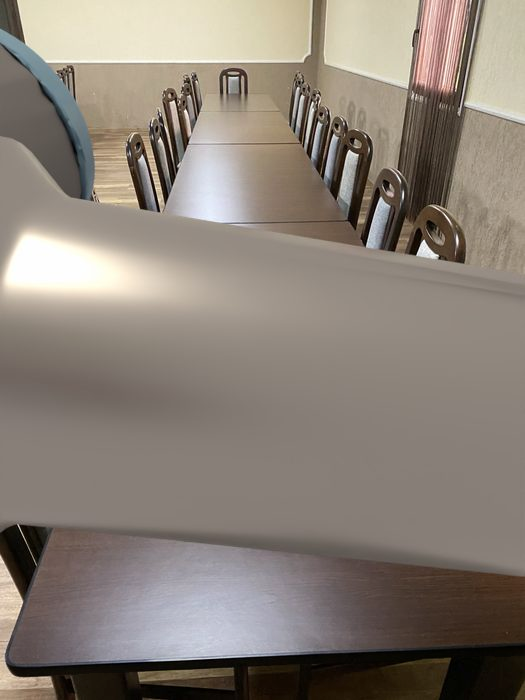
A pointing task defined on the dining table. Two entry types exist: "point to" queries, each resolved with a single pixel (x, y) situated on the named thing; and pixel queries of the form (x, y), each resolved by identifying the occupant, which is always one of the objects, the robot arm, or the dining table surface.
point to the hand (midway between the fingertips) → (298, 396)
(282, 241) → the robot arm
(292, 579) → the dining table surface
